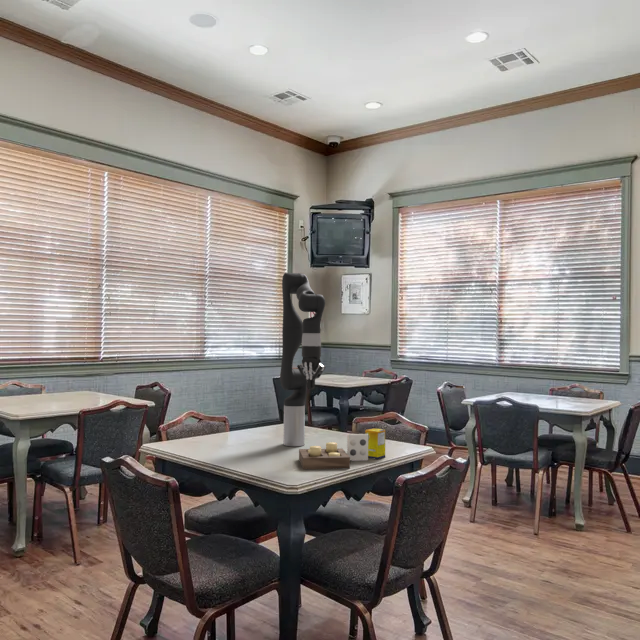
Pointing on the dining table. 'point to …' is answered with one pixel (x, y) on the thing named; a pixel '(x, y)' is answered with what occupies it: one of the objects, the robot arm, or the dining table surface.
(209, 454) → the dining table surface
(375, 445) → the supplement box
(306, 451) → the button board
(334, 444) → the button
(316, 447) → the button
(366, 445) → the card
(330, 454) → the button
